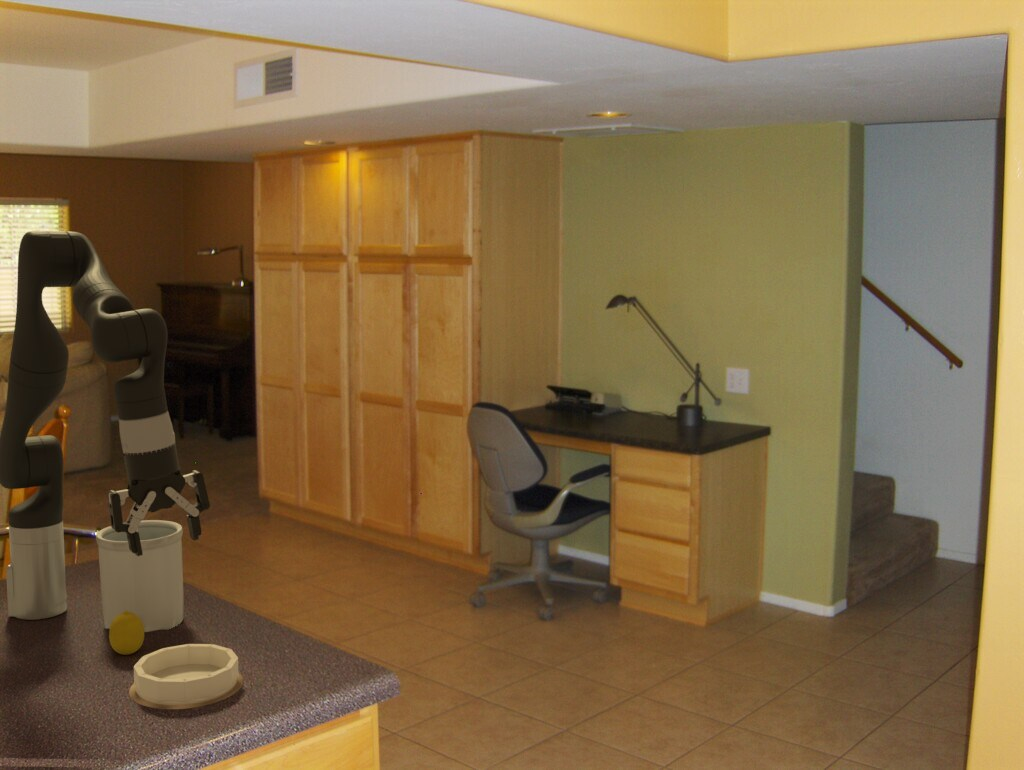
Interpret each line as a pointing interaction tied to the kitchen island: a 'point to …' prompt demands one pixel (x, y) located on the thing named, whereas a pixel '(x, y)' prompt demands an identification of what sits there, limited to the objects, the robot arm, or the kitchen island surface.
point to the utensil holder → (143, 575)
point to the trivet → (134, 697)
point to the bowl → (186, 674)
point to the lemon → (126, 633)
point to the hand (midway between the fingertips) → (166, 546)
